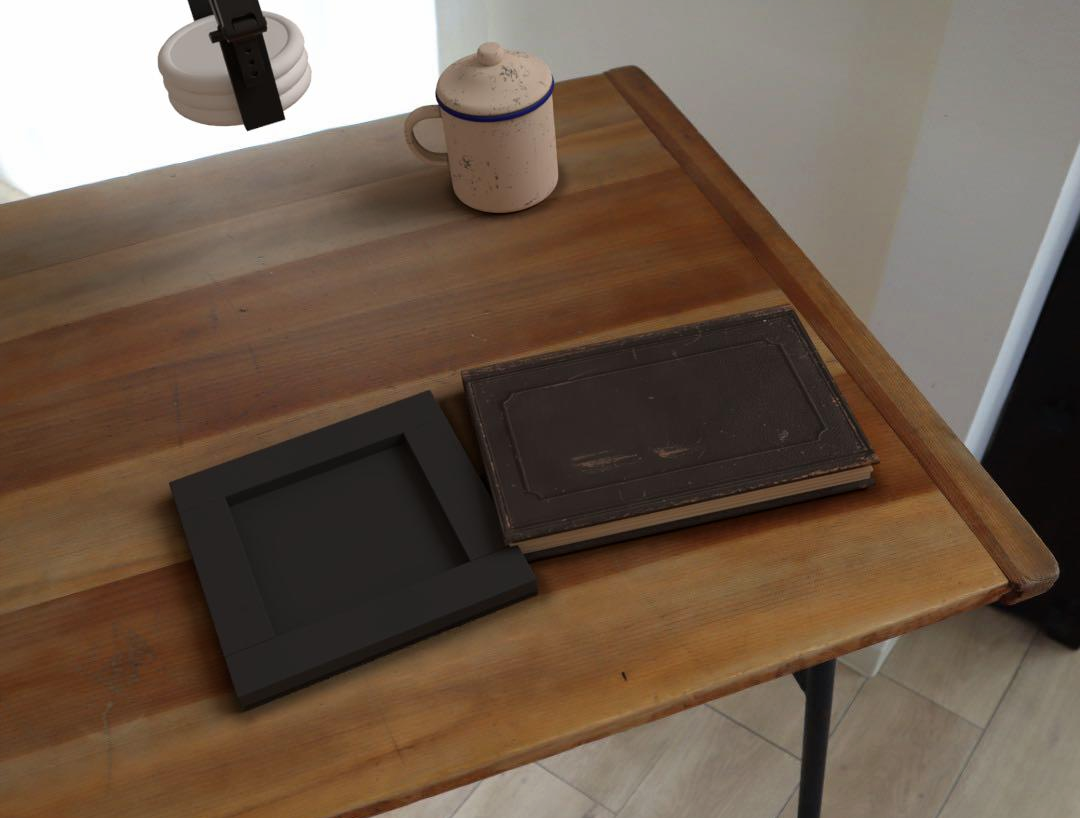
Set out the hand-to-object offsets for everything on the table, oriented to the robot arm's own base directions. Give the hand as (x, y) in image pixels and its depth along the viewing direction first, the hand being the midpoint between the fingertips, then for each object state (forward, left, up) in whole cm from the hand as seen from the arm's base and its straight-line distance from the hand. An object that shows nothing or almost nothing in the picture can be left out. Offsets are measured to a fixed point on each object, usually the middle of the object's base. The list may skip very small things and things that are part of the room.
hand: (243, 86), depth 82 cm
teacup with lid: (0, +17, -14) cm, 22 cm away
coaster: (0, 0, 0) cm, 0 cm away
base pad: (+31, -5, -14) cm, 34 cm away
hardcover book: (+32, +16, -14) cm, 38 cm away
